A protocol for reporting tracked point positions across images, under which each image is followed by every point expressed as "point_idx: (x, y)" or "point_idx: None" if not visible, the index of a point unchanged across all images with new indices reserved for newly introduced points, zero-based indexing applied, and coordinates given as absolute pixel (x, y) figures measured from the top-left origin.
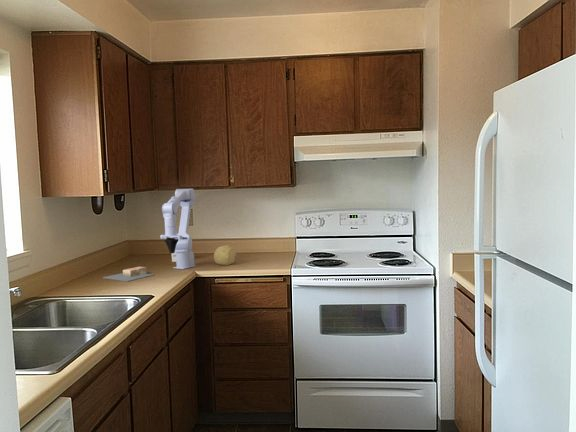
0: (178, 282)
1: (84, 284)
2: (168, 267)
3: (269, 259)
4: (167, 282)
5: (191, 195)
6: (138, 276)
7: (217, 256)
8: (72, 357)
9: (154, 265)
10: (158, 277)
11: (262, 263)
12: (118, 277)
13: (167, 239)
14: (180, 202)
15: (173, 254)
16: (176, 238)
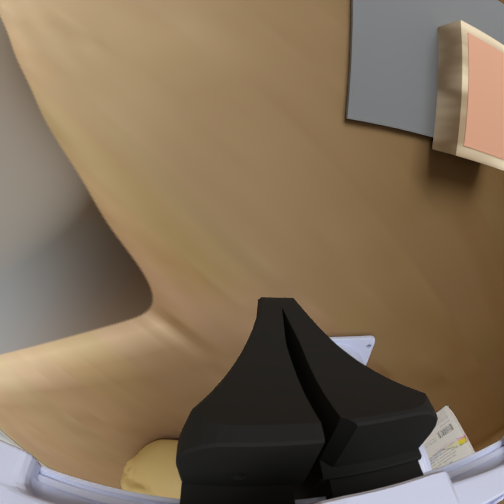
0: (14, 49)
1: None
2: (413, 340)
3: None
4: (66, 8)
5: None
6: (402, 40)
7: (169, 466)
8: None
9: (490, 337)
10: (251, 69)
11: (81, 459)
12: (476, 11)
13: (387, 464)
14: None
15: (452, 431)
16: (107, 499)
